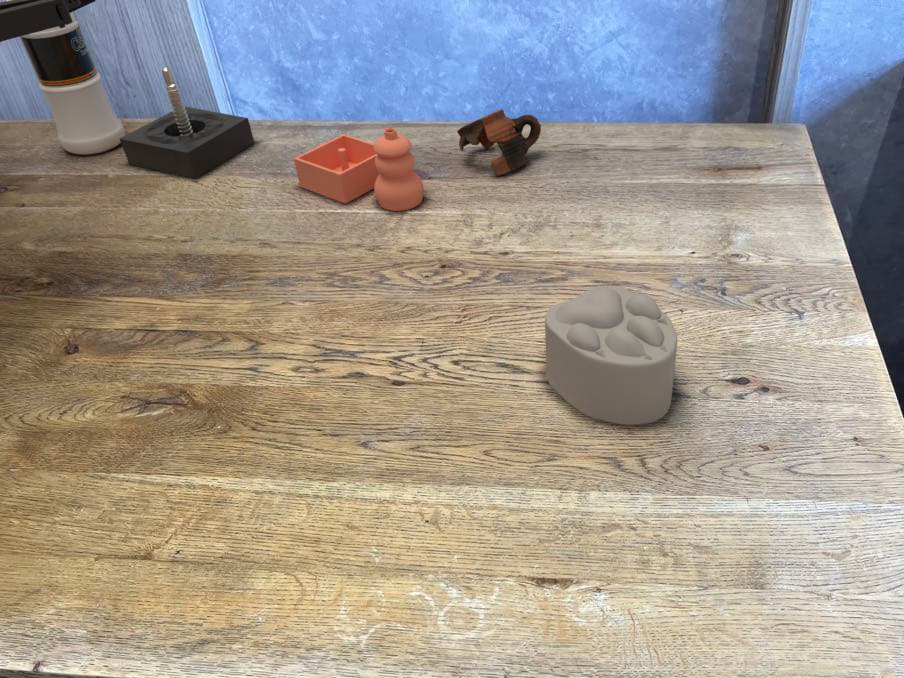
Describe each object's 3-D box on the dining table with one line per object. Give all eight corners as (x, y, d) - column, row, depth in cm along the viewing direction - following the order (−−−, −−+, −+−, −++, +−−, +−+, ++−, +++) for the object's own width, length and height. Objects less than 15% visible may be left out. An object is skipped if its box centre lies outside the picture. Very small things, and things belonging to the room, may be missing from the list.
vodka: (59, 141, 129) (-35, -76, 109) (120, 126, 132) (40, -86, 112) (68, 162, 123) (-30, -63, 103) (132, 147, 126) (49, -73, 106)
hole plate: (129, 164, 122) (119, 138, 119) (190, 130, 130) (182, 105, 128) (196, 179, 117) (187, 152, 115) (254, 143, 126) (248, 117, 124)
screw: (182, 163, 121) (172, 152, 124) (214, 154, 123) (204, 144, 126) (152, 75, 113) (142, 65, 116) (187, 67, 115) (176, 57, 118)
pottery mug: (480, 186, 114) (454, 129, 112) (472, 187, 123) (448, 134, 121) (557, 150, 115) (533, 93, 113) (543, 153, 124) (521, 100, 122)
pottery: (300, 186, 115) (283, 118, 108) (349, 161, 120) (336, 95, 114) (393, 221, 107) (382, 150, 100) (441, 193, 112) (433, 123, 106)
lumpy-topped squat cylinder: (610, 334, 87) (612, 264, 81) (698, 395, 79) (708, 323, 74) (532, 373, 83) (529, 302, 77) (618, 443, 75) (621, 370, 69)
